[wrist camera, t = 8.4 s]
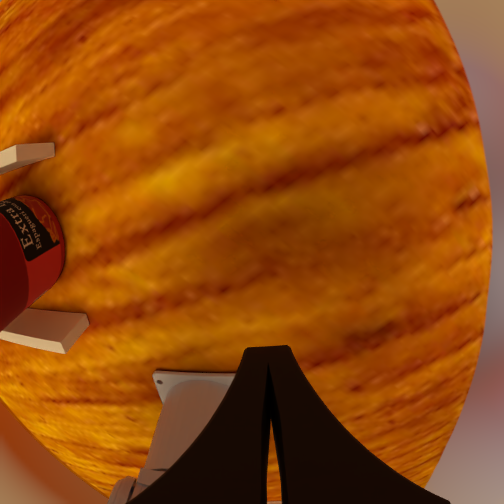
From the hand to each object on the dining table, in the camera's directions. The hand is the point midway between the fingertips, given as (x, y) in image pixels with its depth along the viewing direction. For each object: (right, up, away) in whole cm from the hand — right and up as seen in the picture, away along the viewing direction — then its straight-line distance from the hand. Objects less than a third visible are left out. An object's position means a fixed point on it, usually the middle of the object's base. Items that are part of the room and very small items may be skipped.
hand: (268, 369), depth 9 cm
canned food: (-18, +5, +9) cm, 20 cm away
